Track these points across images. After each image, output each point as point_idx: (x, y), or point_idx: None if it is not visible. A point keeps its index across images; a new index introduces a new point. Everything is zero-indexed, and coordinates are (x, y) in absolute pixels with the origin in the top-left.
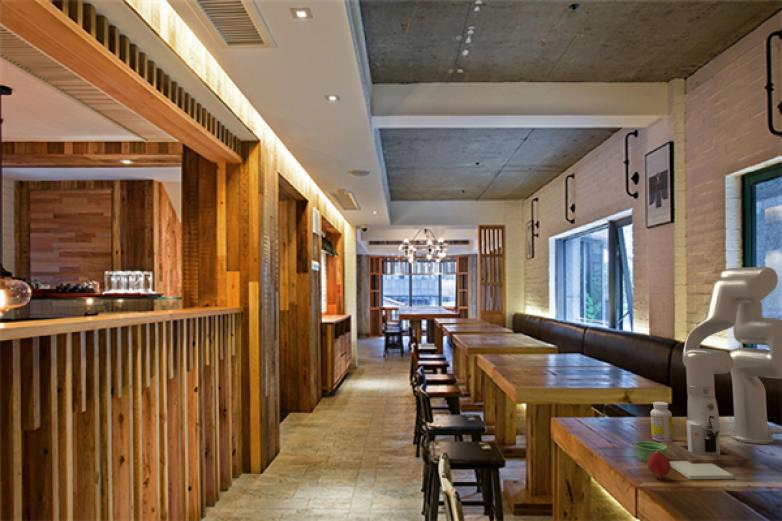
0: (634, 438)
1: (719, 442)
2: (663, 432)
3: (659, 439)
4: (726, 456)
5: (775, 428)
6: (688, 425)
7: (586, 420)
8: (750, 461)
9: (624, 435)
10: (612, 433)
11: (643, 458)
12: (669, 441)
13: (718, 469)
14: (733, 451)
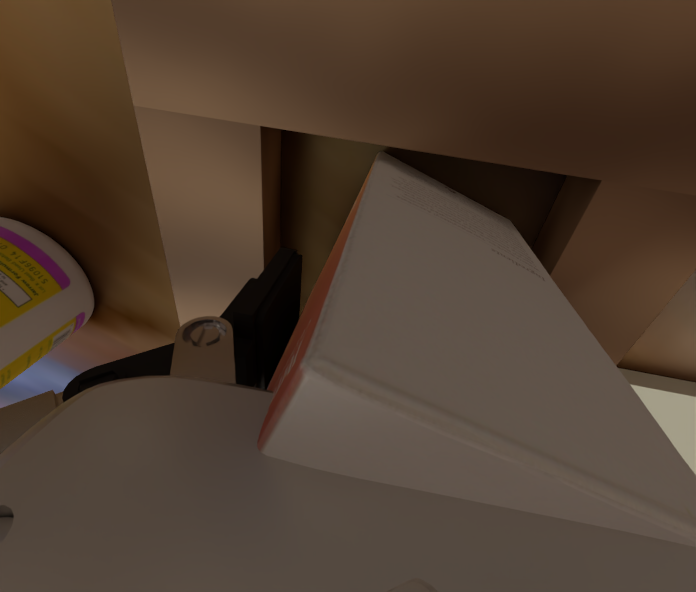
0: (57, 376)
1: (566, 299)
2: (41, 344)
3: (81, 325)
4: (612, 245)
5: None
6: None
7: None
8: None
9: (17, 384)
10: (2, 405)
11: None
12: (83, 274)
13: (691, 417)
14: (535, 14)
